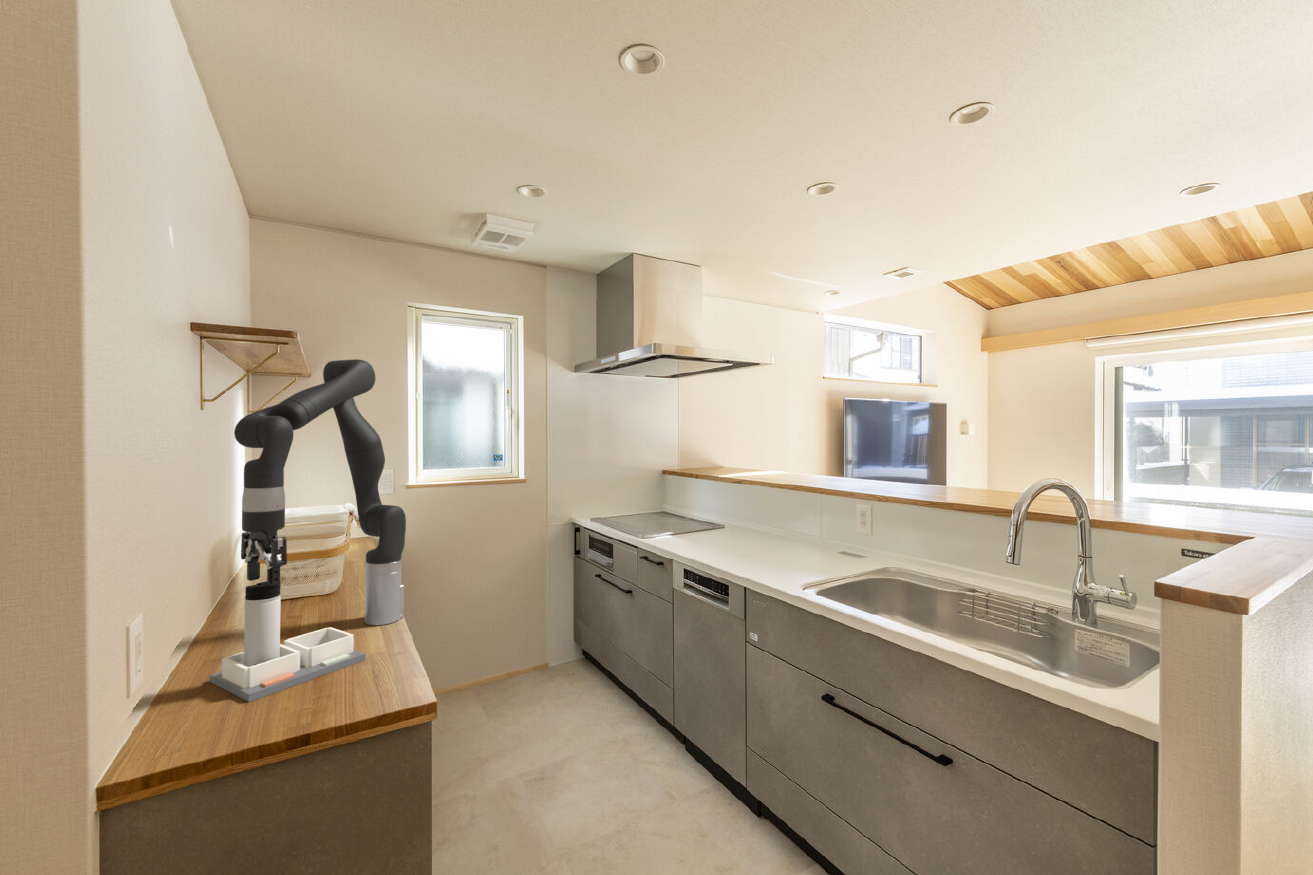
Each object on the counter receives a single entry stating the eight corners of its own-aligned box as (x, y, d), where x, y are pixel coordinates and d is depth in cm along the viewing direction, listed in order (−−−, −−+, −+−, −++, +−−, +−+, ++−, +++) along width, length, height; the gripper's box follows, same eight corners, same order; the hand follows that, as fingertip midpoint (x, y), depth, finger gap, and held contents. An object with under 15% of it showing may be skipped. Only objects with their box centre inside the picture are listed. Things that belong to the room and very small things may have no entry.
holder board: (324, 645, 136) (325, 623, 136) (365, 659, 128) (365, 636, 128) (209, 681, 115) (210, 656, 115) (249, 702, 107) (249, 674, 107)
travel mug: (261, 681, 113) (263, 585, 113) (236, 678, 114) (237, 583, 114) (287, 668, 119) (289, 578, 119) (263, 666, 120) (264, 576, 120)
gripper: (300, 508, 116) (299, 583, 116) (266, 503, 123) (265, 574, 123) (261, 512, 110) (260, 592, 110) (227, 507, 117) (227, 581, 117)
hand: (263, 582), depth 116 cm, fingers open, 8 cm apart
